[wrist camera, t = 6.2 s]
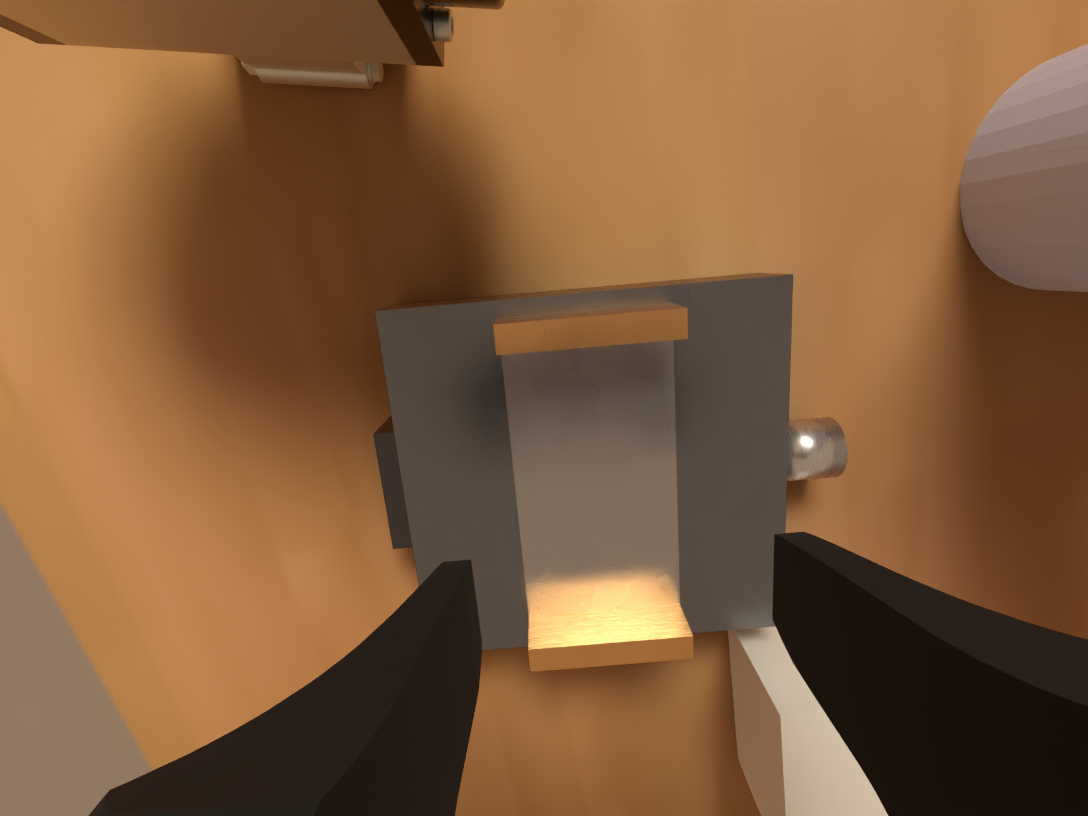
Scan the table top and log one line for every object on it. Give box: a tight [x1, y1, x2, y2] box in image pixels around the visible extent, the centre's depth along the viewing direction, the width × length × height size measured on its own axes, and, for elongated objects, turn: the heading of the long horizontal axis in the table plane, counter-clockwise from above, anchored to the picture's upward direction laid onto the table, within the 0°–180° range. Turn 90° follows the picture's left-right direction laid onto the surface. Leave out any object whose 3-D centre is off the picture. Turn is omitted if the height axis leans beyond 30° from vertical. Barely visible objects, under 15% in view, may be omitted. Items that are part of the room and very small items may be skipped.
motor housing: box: [374, 273, 847, 672], centre depth 18 cm, size 15×12×4 cm
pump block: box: [728, 627, 888, 816], centre depth 20 cm, size 4×7×5 cm, turn 9°
